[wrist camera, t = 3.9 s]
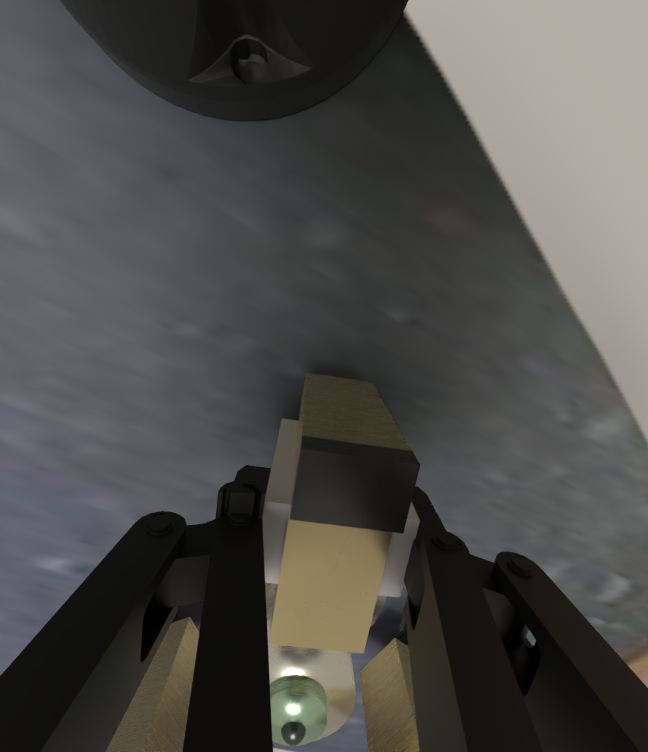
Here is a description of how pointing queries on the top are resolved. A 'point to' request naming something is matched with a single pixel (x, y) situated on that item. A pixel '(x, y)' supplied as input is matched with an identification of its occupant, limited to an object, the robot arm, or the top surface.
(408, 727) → the brass angular block
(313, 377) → the gold angular block
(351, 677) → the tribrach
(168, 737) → the brass wedge block
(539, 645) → the robot arm
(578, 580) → the top surface
